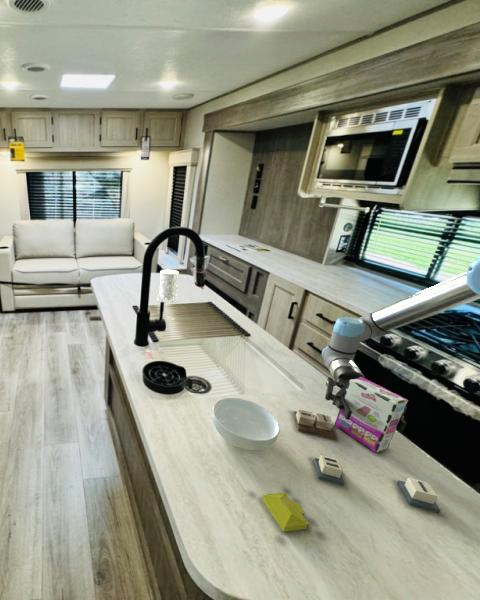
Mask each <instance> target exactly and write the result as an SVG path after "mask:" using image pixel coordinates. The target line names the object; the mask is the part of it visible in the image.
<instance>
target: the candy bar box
mask: <svg viewBox="0 0 480 600" xmlns="http://www.w3.org/2000/svg"><path fill="white" fill-rule="evenodd" d="M344 398H345V400H346V402H347V403H348V405H349V407H350V409H351V411H352V414H351V417H350V419H349V420H347V419H345V417H344V415H343V413H342V411H341V409H339V410H338V413H337V416H336V419H335V422H334V423H333V424H334V425H333V426H335V427H336V428H337V429H339V430H340V431H342V432H344V433H345V434H346V435H347V436H349V437H351V438H353V439H354V440H355V441H356V442H358V443H360V444H362V445H363V446H364V447H366V448H367V449H369V450H371V451H372V452H373V453H376V454H378V453H379V452H382V451H386V450H387V449H388V448H389V446H390V444H391V441H392V440H393V437H394V435H395V432H396V430H397V429H398V428H397V425H398V423H399V421H400V418H401V416H402V414H403V411H404V409H405V407H406V408H407V405H408V402H409V400H408V399H407V398H405V397H403V396H401V395H399V394H397V393H394V392H392V391H391V390H389V389H387V388H385V387H383V386H381V385H379V384H376V383H375V382H373V381H371V380H369V379H367V378H365V379H364V378H362V377H359V378H356V379H352V380H350V381H349V384H348V387H347V390H346V393H345V395H344Z"/></svg>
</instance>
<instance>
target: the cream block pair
mask: <svg viewBox="0 0 480 600" xmlns="http://www.w3.org/2000/svg"><path fill="white" fill-rule="evenodd" d="M292 415H293V417H294V421H295V425H296V428H297V431H298V432H302V433H305V434H310V435H313V436H318V437H322V438H326V439H330V440H333V441H336V440H337V436H336V435H337V434H336V432H335V430H334V426H335V425H334V424H335V423H334V422H333V420H332V418H331V415H326V414H322V413H317V412H315V414H313V412H312V411H309V410H304V409H300V408H298V409H297V410H293V412H292Z"/></svg>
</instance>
